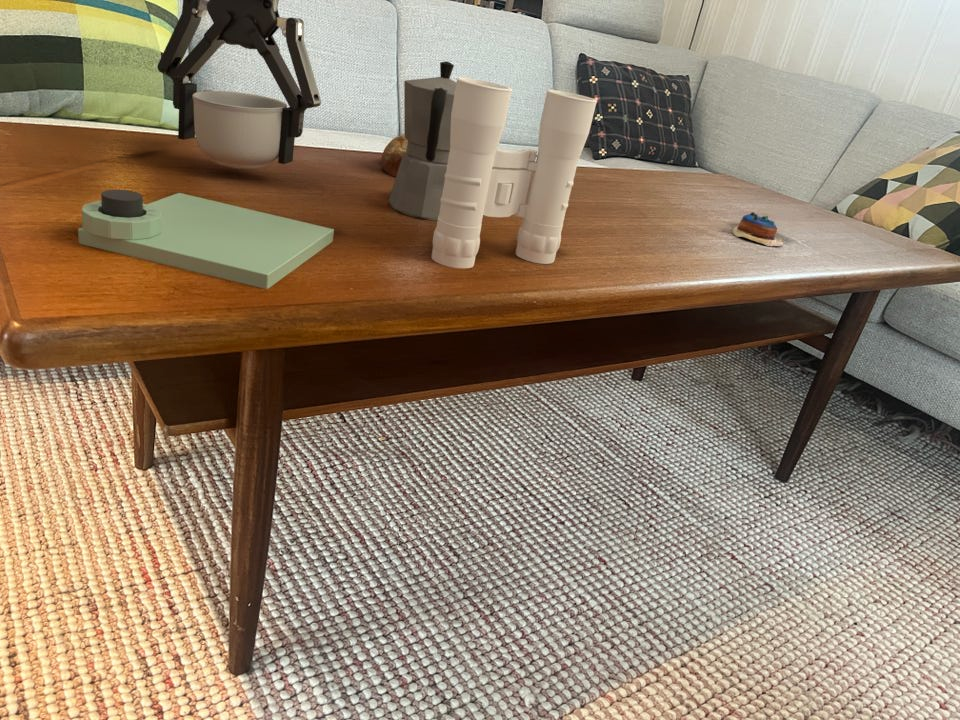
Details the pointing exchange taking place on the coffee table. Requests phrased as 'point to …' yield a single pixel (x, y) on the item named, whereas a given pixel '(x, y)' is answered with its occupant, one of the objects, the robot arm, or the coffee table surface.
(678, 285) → the coffee table surface
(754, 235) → the dessert
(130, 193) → the button
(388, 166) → the bread roll
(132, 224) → the scale
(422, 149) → the coffeepot
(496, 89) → the binoculars
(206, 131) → the teacup
